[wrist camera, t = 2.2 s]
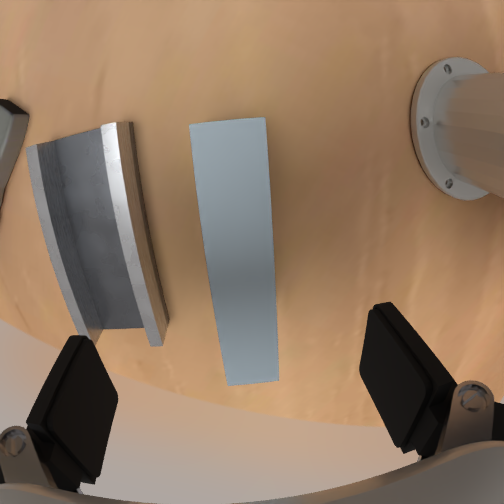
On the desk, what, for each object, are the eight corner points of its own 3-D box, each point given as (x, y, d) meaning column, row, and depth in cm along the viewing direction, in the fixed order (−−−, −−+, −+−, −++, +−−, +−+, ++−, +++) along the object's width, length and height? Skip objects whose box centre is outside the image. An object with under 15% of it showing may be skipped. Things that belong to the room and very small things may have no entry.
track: (50, 142, 19) (25, 147, 15) (132, 121, 19) (115, 122, 16) (97, 322, 25) (84, 347, 22) (169, 319, 25) (162, 345, 22)
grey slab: (205, 124, 20) (188, 124, 11) (249, 120, 20) (265, 117, 11) (226, 303, 25) (227, 385, 17) (263, 300, 25) (279, 380, 17)
